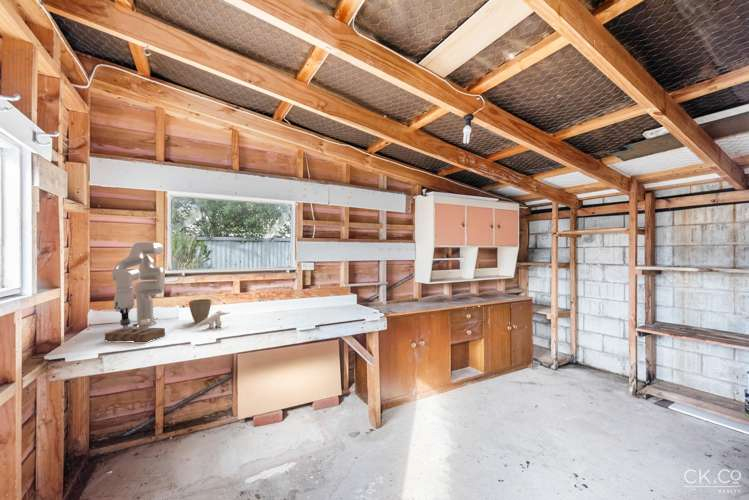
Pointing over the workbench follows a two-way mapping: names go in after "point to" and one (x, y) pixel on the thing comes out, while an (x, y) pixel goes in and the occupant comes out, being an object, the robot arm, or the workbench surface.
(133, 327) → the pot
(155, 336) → the mount
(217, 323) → the white dinosaur figurine
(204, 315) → the plant pot
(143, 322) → the ivory knob
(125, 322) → the black knob
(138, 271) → the robot arm
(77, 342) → the workbench surface
